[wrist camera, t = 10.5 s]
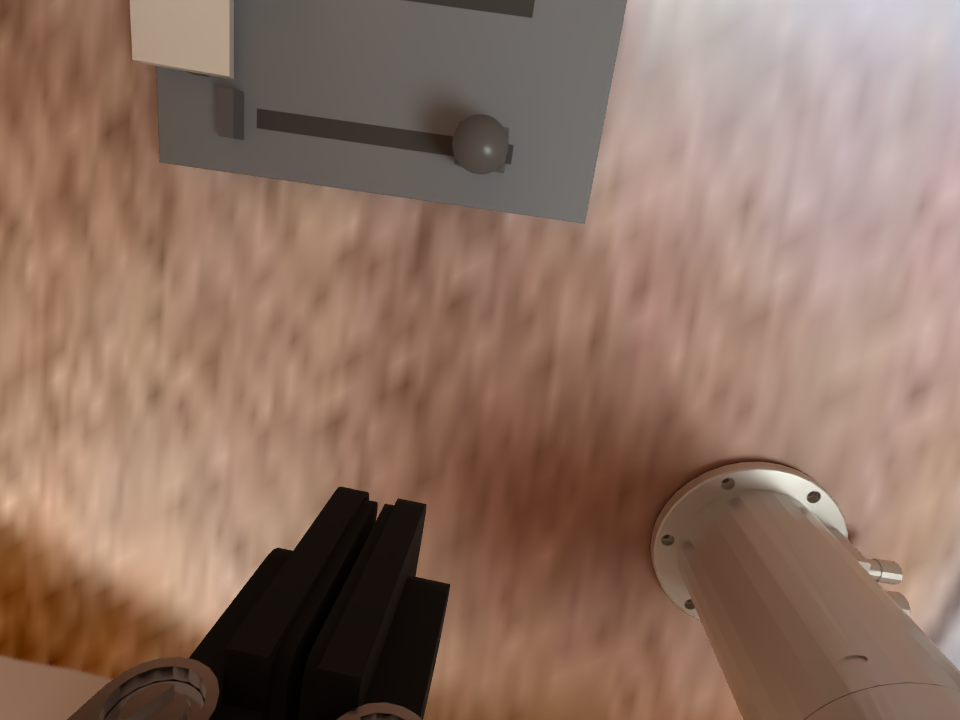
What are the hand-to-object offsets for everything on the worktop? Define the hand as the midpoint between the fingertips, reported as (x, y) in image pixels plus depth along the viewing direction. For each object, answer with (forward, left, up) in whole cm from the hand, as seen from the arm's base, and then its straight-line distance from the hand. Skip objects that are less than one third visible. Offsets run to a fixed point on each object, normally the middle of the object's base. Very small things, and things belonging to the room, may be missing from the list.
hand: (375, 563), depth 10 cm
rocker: (+16, -12, -21) cm, 29 cm away
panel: (+6, -12, -25) cm, 28 cm away
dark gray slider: (0, -9, -23) cm, 24 cm away
